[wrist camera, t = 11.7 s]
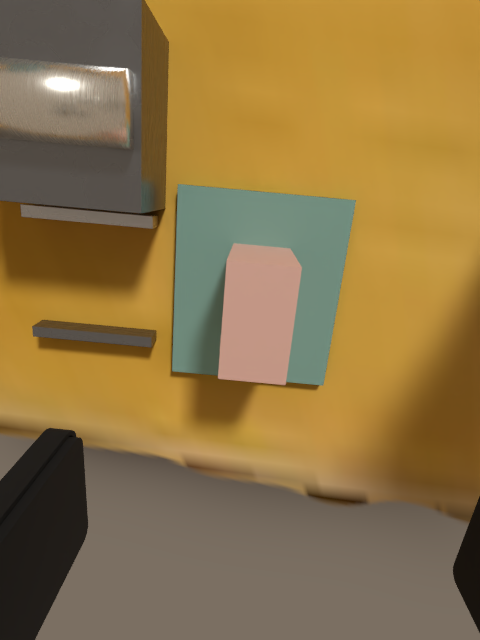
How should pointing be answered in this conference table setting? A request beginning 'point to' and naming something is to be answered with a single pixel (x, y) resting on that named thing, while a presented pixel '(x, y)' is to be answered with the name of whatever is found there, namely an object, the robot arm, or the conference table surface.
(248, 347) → the pink rectangular prism
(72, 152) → the dispenser
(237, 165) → the conference table surface
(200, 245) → the pad
